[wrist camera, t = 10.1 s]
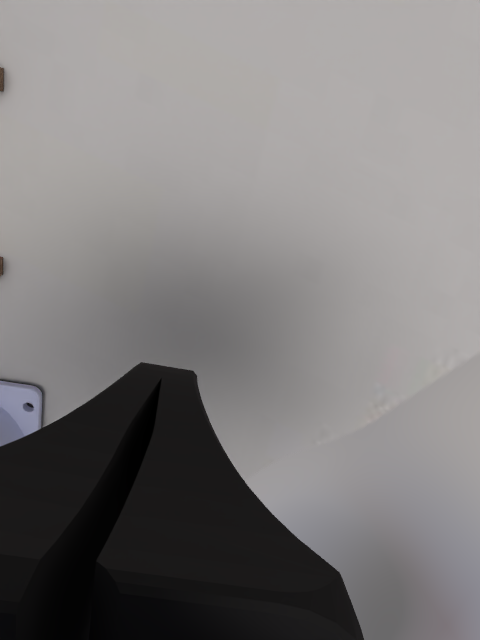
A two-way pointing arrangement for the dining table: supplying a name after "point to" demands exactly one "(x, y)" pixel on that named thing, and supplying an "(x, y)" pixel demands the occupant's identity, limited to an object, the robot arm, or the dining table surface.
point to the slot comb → (0, 88)
